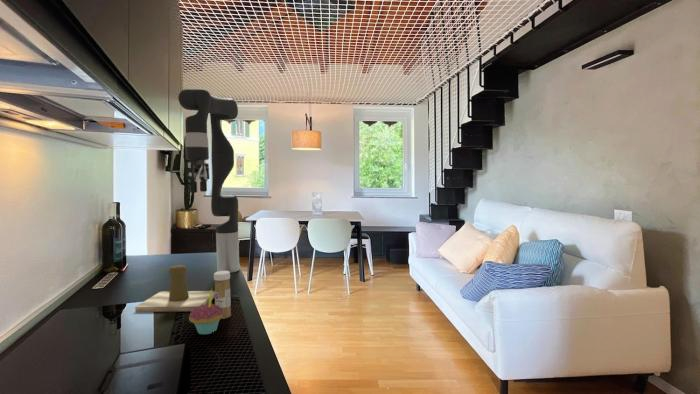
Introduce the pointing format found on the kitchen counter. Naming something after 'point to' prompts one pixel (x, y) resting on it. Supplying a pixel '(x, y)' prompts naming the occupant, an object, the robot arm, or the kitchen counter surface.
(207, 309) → the cupcake
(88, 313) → the kitchen counter surface
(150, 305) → the birch board
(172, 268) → the cork
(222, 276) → the sprinkles bottle
